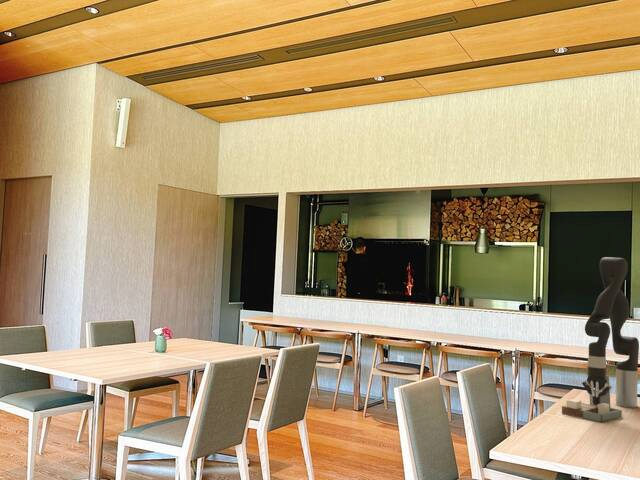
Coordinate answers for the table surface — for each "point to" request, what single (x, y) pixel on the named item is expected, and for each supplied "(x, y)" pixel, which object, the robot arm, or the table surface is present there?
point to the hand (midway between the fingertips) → (596, 404)
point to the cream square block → (573, 403)
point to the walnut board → (580, 410)
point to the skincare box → (603, 399)
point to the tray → (603, 415)
